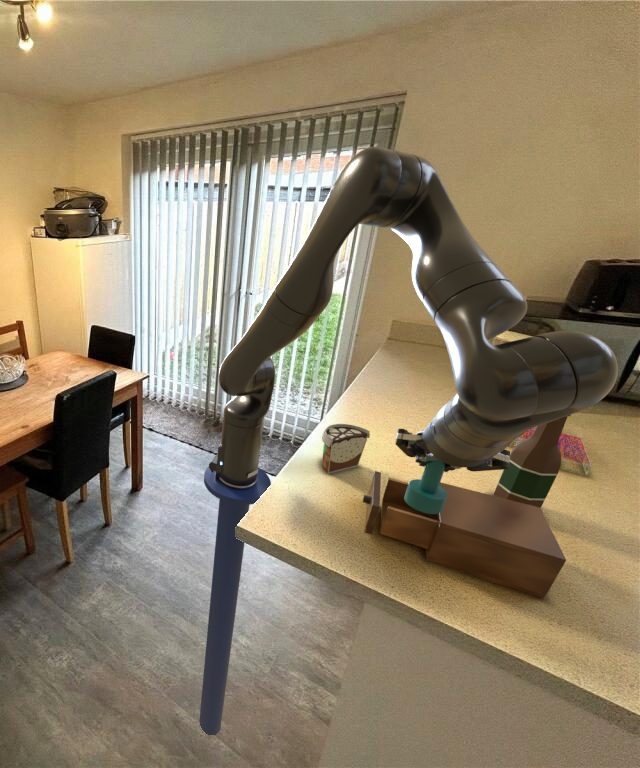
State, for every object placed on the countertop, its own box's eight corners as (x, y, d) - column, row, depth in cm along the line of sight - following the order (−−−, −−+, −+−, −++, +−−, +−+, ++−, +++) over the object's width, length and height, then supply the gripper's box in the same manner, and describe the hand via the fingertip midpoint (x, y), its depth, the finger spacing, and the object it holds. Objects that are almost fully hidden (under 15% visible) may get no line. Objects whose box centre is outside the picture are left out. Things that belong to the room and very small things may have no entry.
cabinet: (426, 559, 72) (440, 522, 68) (422, 514, 83) (434, 480, 79) (544, 599, 64) (566, 560, 61) (522, 543, 75) (540, 507, 71)
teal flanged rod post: (404, 507, 64) (424, 445, 60) (403, 489, 68) (422, 430, 64) (443, 518, 62) (467, 454, 57) (440, 499, 66) (462, 438, 61)
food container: (343, 452, 104) (351, 419, 101) (362, 465, 99) (371, 430, 95) (305, 461, 101) (311, 427, 97) (323, 474, 96) (330, 439, 92)
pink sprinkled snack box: (502, 414, 122) (508, 399, 120) (572, 429, 113) (580, 413, 111) (503, 456, 101) (510, 439, 99) (588, 479, 92) (599, 461, 90)
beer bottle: (547, 512, 82) (599, 411, 73) (524, 522, 80) (574, 419, 70) (504, 490, 89) (546, 395, 80) (481, 498, 87) (522, 401, 77)
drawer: (357, 530, 78) (365, 502, 75) (361, 494, 87) (368, 469, 85) (457, 563, 70) (470, 534, 67) (449, 520, 80) (460, 493, 77)
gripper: (545, 416, 47) (490, 453, 62) (407, 393, 54) (387, 431, 69) (541, 475, 45) (485, 499, 60) (398, 443, 52) (379, 472, 67)
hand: (433, 462), depth 64 cm, fingers closed on teal flanged rod post, 2 cm apart
